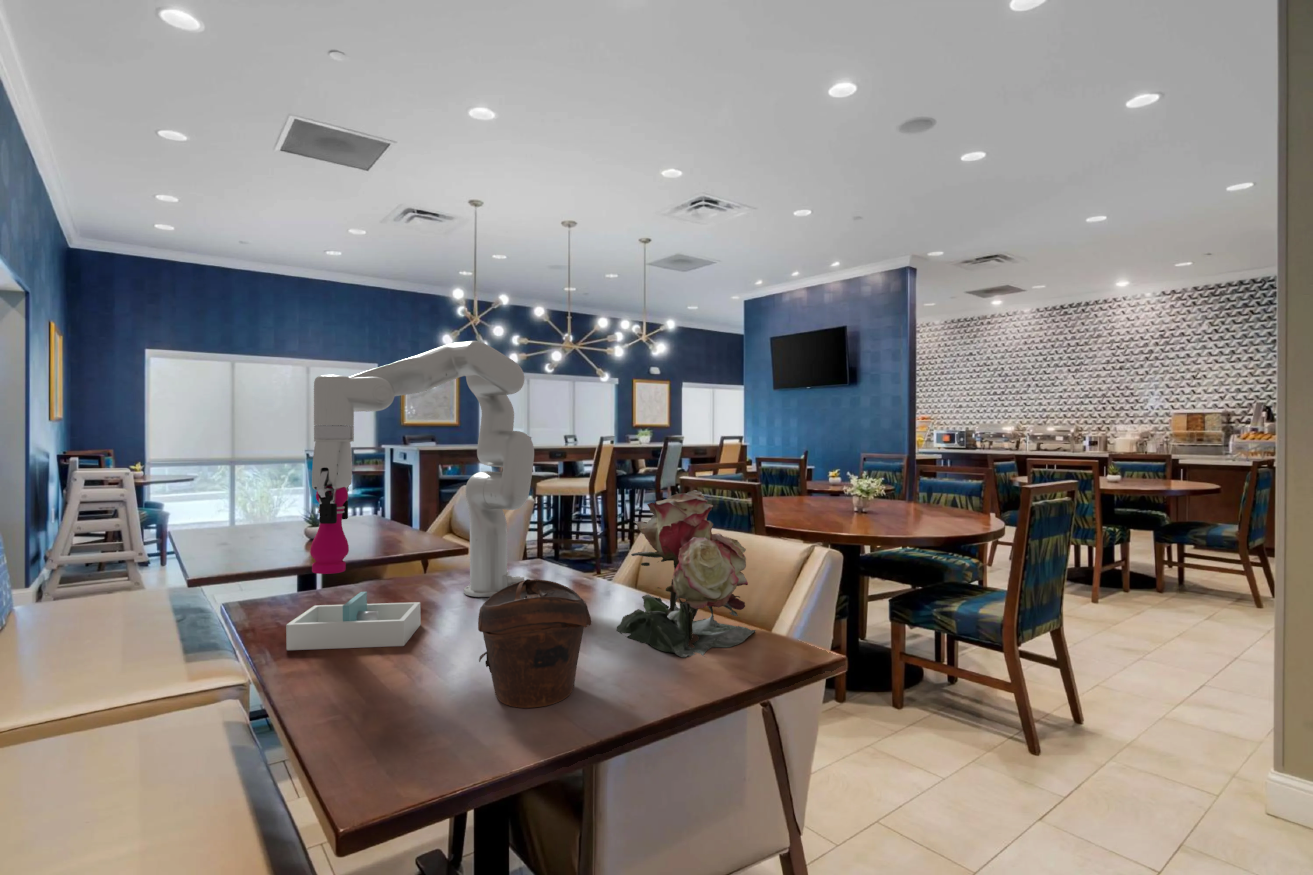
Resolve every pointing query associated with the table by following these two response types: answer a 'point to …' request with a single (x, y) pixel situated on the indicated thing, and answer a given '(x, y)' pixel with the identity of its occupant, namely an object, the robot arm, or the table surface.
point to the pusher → (358, 609)
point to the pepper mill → (331, 541)
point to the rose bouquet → (689, 579)
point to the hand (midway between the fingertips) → (334, 520)
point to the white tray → (353, 627)
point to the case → (533, 641)
